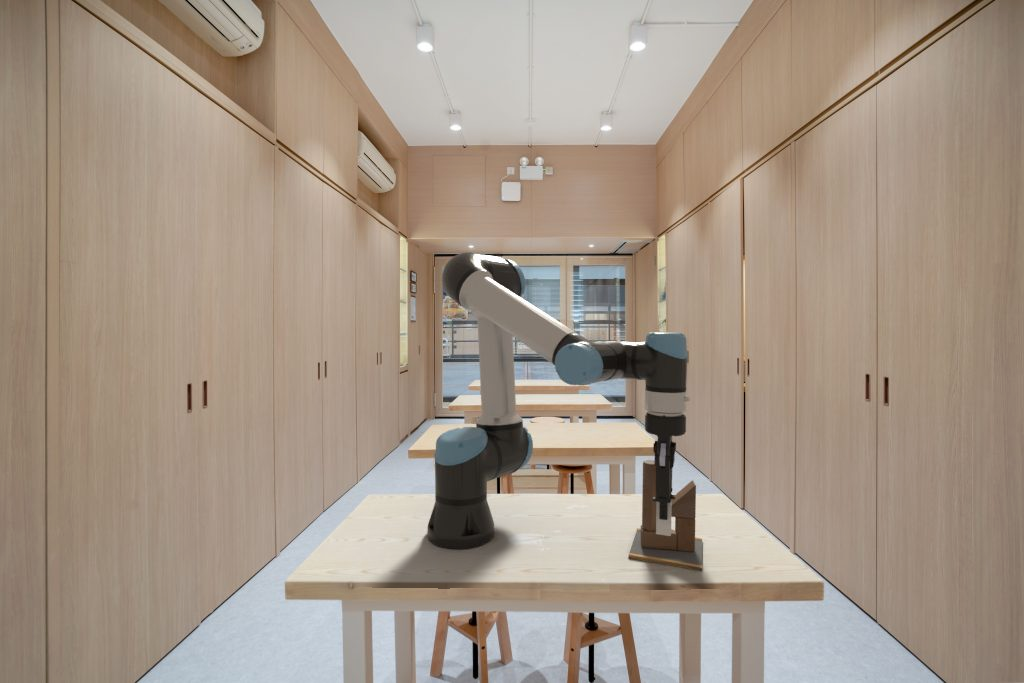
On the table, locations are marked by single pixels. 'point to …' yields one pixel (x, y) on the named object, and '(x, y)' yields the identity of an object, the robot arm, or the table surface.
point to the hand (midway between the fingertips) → (663, 533)
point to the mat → (667, 554)
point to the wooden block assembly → (680, 510)
